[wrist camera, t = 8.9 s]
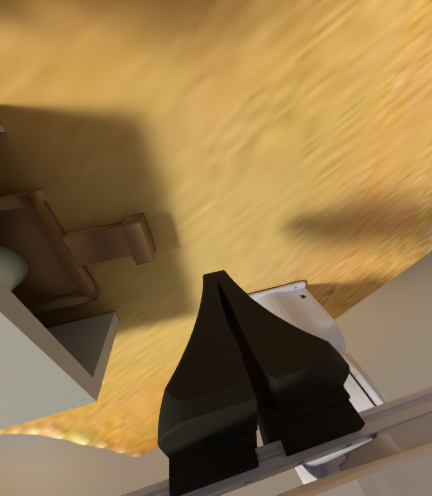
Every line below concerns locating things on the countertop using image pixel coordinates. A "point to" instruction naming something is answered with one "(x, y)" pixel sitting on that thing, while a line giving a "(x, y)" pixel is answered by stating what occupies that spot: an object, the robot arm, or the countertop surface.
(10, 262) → the cream rounded block
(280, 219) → the countertop surface
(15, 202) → the tray
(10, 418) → the large grey box
